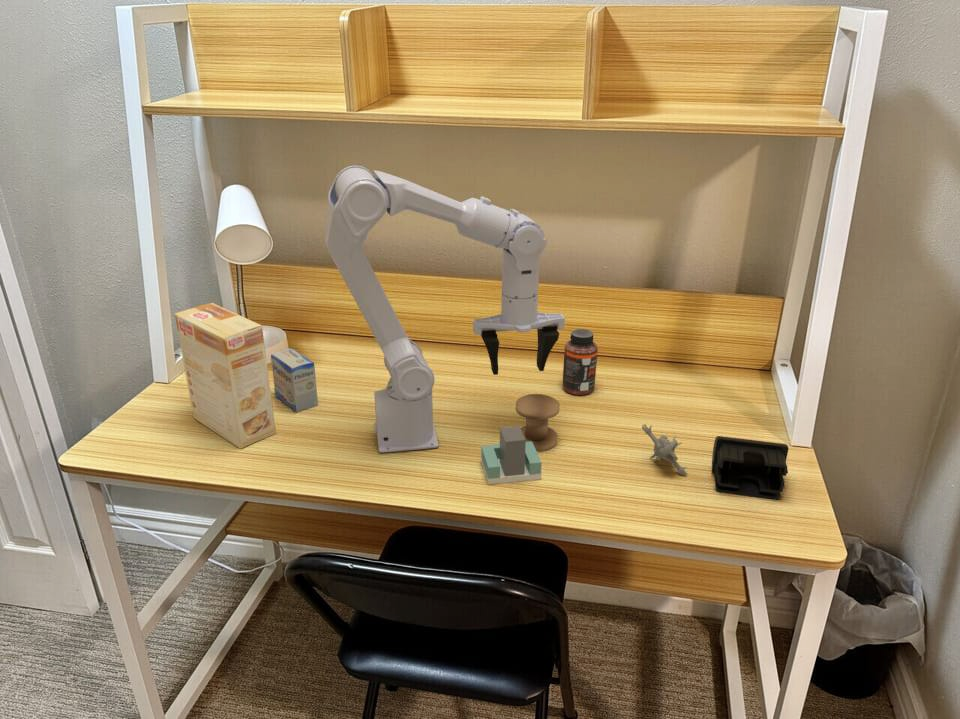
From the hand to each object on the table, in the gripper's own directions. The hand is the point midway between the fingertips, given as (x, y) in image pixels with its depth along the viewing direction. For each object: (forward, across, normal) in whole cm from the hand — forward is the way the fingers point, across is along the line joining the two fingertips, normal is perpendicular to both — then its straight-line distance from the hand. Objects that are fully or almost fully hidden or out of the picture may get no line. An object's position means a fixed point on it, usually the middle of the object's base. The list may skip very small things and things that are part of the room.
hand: (517, 370), depth 124 cm
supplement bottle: (+10, +14, +10) cm, 20 cm away
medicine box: (+10, -37, +14) cm, 41 cm away
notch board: (+10, -4, -14) cm, 18 cm away
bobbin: (+10, +2, -6) cm, 12 cm away
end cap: (+10, +30, -23) cm, 39 cm away
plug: (+9, -4, -15) cm, 18 cm away
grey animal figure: (+10, +20, -16) cm, 27 cm away
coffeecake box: (+10, -47, +7) cm, 49 cm away
